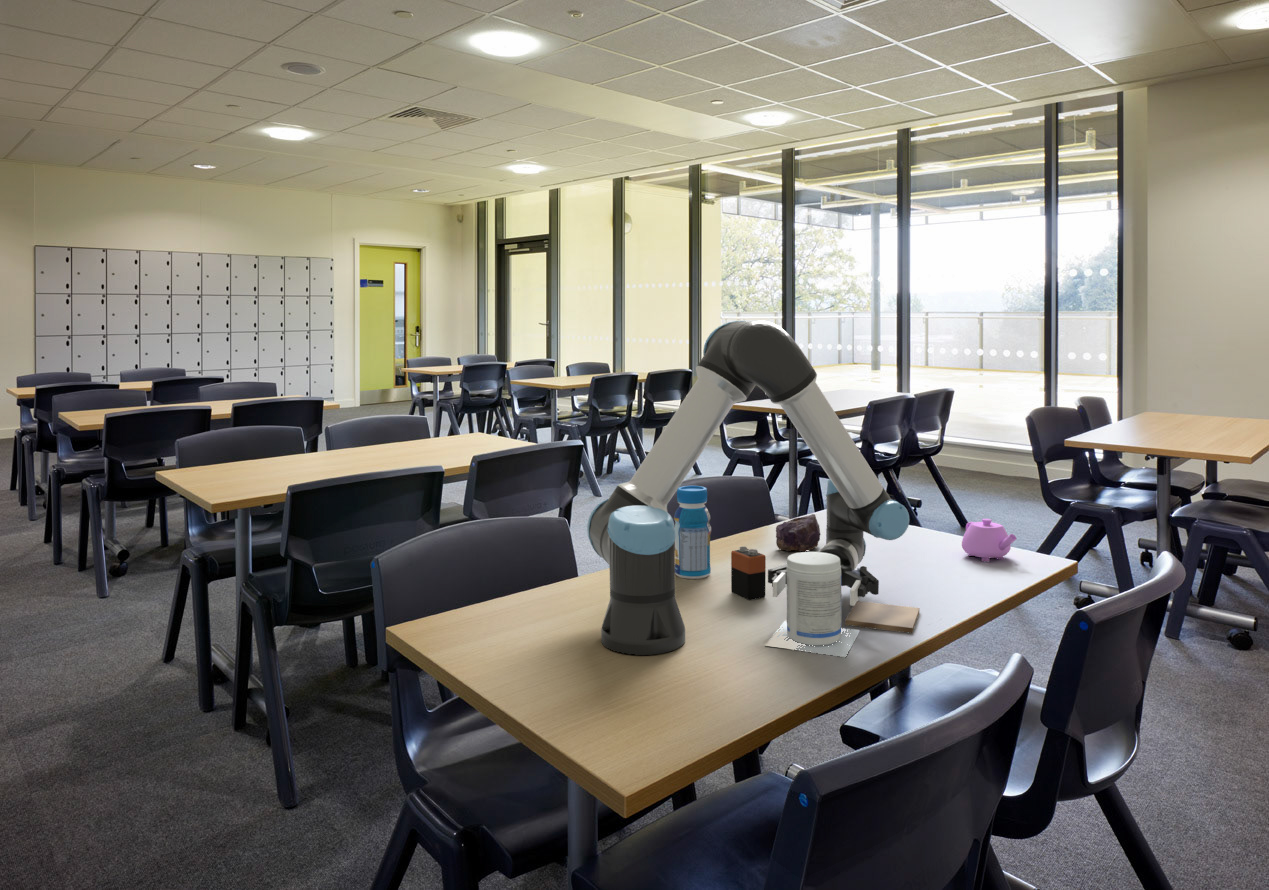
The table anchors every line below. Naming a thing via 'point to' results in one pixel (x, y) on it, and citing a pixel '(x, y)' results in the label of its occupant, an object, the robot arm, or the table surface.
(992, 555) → the teapot
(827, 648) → the label card
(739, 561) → the battery
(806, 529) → the rock
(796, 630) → the supplement tub
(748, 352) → the robot arm
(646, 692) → the table surface
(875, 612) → the walnut square
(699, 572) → the beverage bottle
